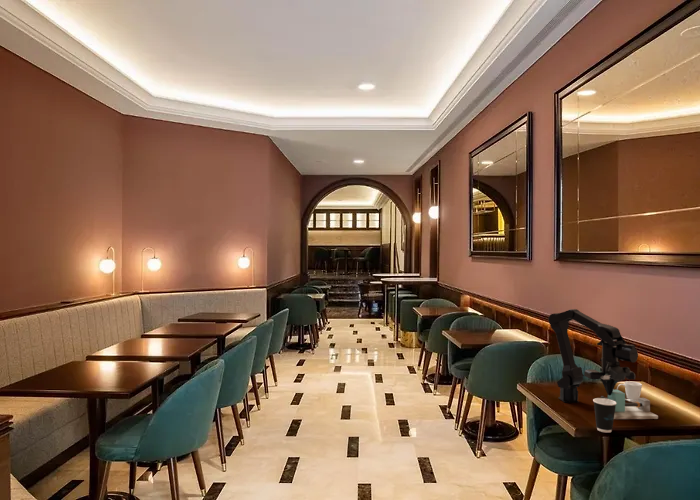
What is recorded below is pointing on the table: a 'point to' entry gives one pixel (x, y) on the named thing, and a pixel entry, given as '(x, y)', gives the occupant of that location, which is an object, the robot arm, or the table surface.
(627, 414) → the cord board
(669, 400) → the table surface
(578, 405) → the table surface
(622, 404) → the teal block
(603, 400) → the dixie cup
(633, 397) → the cup
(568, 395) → the robot arm
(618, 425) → the table surface
